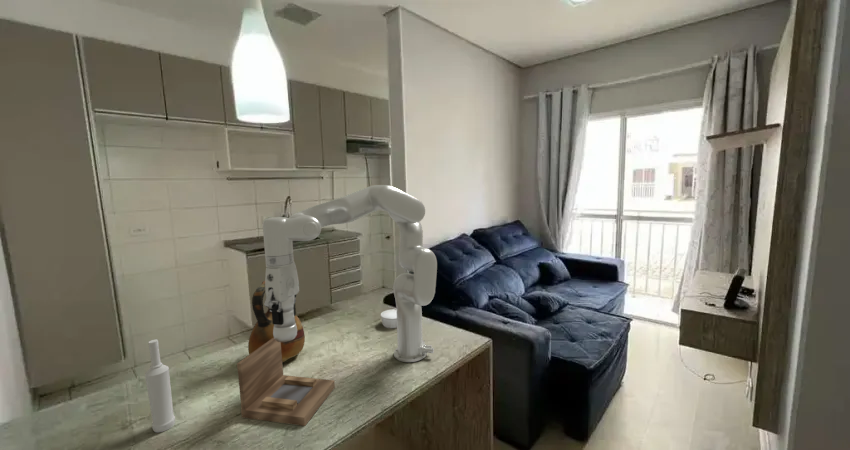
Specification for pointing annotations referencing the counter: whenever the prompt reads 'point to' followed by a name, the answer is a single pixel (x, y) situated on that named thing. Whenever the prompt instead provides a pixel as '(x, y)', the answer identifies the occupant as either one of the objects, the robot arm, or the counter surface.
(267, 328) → the ceramic pitcher
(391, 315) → the ramekin
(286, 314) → the plastic bottle
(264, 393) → the display stand
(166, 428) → the bottle
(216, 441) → the counter surface
